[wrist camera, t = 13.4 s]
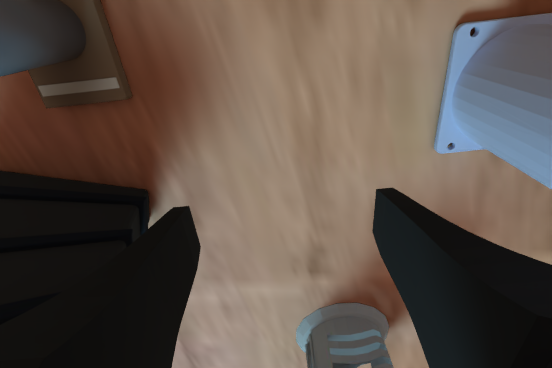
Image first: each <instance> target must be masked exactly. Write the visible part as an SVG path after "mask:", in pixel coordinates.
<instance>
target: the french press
mask: <svg viewBox="0 0 552 368" xmlns="http://www.w3.org/2000/svg"><path fill="white" fill-rule="evenodd" d="M388 329H389V325H388V322H387V319H386V317H385V315H384V314H382V313H381V312H380V311H378V310H377V309H376V308H374V307H371V306H367V305H364V304H360V303H337V304H334V305H330V306H327V307H323V308H320V309H318V310H316V311H315V312H313V313H312V314H310V315H309V316H307V317H306V318H304V320H303V321H302V322H301V324H300V325H299V327H298V328H297V333H296V341H297V343H298V344H299V346H300V348H301V349H302V351H304V352H305V353H306V358H307V367H308V368H357V367H358V366H360V365H363V364H367V363H371V366H372V368H393V365H392V362H391V359H390V356H389V354H388V351H387V348H386V345H385V343H384V340H385V339H386V336H387V333H388Z"/></svg>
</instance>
